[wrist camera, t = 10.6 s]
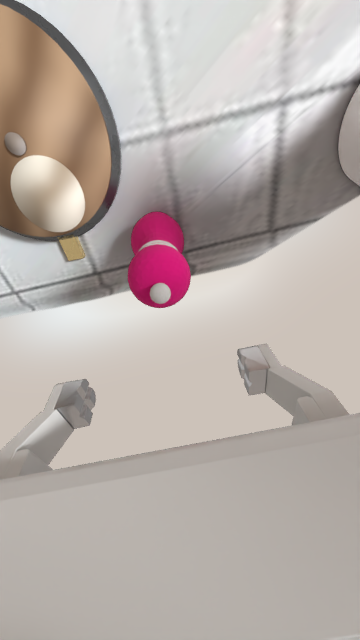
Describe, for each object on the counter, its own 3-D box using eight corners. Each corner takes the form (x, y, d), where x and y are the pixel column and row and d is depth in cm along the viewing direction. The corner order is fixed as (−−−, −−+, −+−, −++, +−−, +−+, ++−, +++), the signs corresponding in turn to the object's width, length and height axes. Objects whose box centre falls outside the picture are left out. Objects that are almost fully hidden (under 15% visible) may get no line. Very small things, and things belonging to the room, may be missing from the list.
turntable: (133, 90, 25) (128, 71, 19) (91, 255, 34) (79, 273, 29) (-105, -64, 18) (-211, -155, 13) (-75, 192, 28) (-128, 200, 23)
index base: (77, -29, 21) (74, -37, 20) (146, 243, 35) (146, 245, 35) (-151, 23, 21) (-164, 18, 20) (10, 270, 36) (7, 273, 35)
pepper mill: (164, 264, 38) (171, 344, 21) (124, 239, 35) (99, 310, 19) (190, 227, 35) (222, 286, 18) (149, 196, 32) (144, 234, 15)
